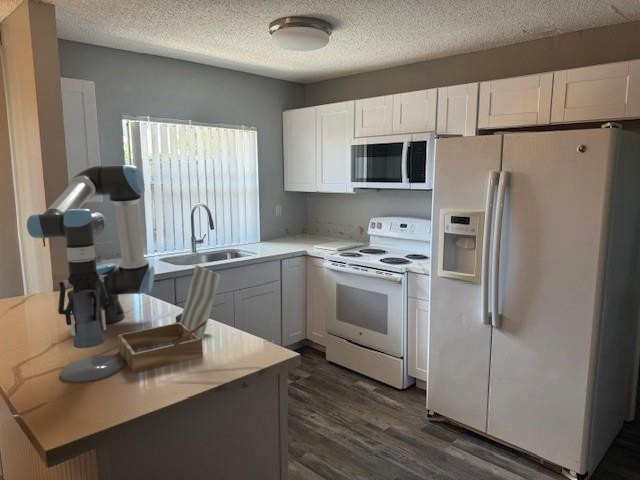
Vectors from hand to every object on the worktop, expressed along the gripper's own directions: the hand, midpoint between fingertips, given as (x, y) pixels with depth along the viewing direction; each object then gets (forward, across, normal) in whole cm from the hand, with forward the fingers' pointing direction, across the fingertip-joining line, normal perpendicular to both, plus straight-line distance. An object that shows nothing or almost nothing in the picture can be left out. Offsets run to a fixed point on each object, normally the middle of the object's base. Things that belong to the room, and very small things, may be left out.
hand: (88, 331), depth 144 cm
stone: (+13, +37, +15) cm, 42 cm away
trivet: (+13, 0, 0) cm, 13 cm away
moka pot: (+5, 0, 0) cm, 5 cm away
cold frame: (+13, +25, 0) cm, 28 cm away
